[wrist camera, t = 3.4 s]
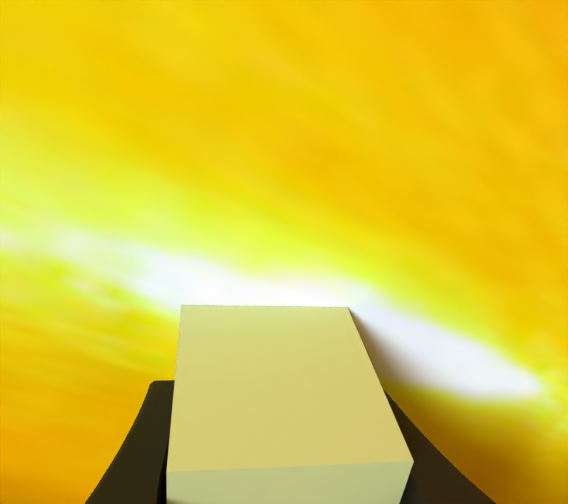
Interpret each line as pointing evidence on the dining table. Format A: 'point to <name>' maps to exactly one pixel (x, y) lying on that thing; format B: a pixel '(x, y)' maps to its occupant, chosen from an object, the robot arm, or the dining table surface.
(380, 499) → the pale yellow block
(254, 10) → the dining table surface
